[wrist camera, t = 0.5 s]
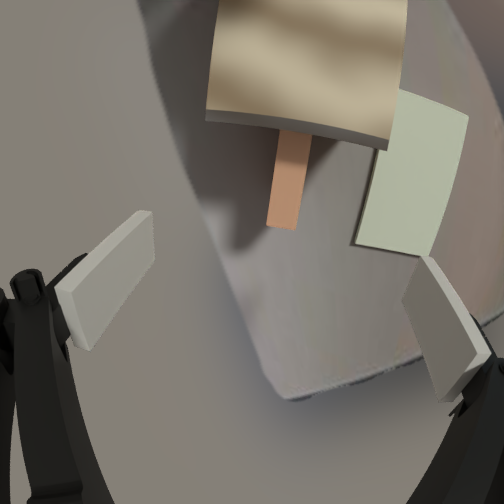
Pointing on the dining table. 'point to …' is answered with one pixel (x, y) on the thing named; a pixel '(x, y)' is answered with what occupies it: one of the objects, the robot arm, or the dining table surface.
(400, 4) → the brown boxy piece
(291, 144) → the tan rectangular slab
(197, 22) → the dining table surface
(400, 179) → the mat
